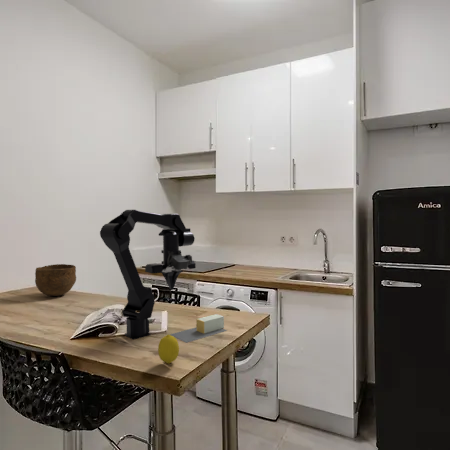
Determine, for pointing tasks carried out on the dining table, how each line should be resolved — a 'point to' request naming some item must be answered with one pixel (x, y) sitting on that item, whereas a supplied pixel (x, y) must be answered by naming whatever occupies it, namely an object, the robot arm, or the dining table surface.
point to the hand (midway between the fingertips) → (171, 289)
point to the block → (210, 323)
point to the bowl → (55, 279)
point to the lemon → (168, 349)
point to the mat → (194, 334)
